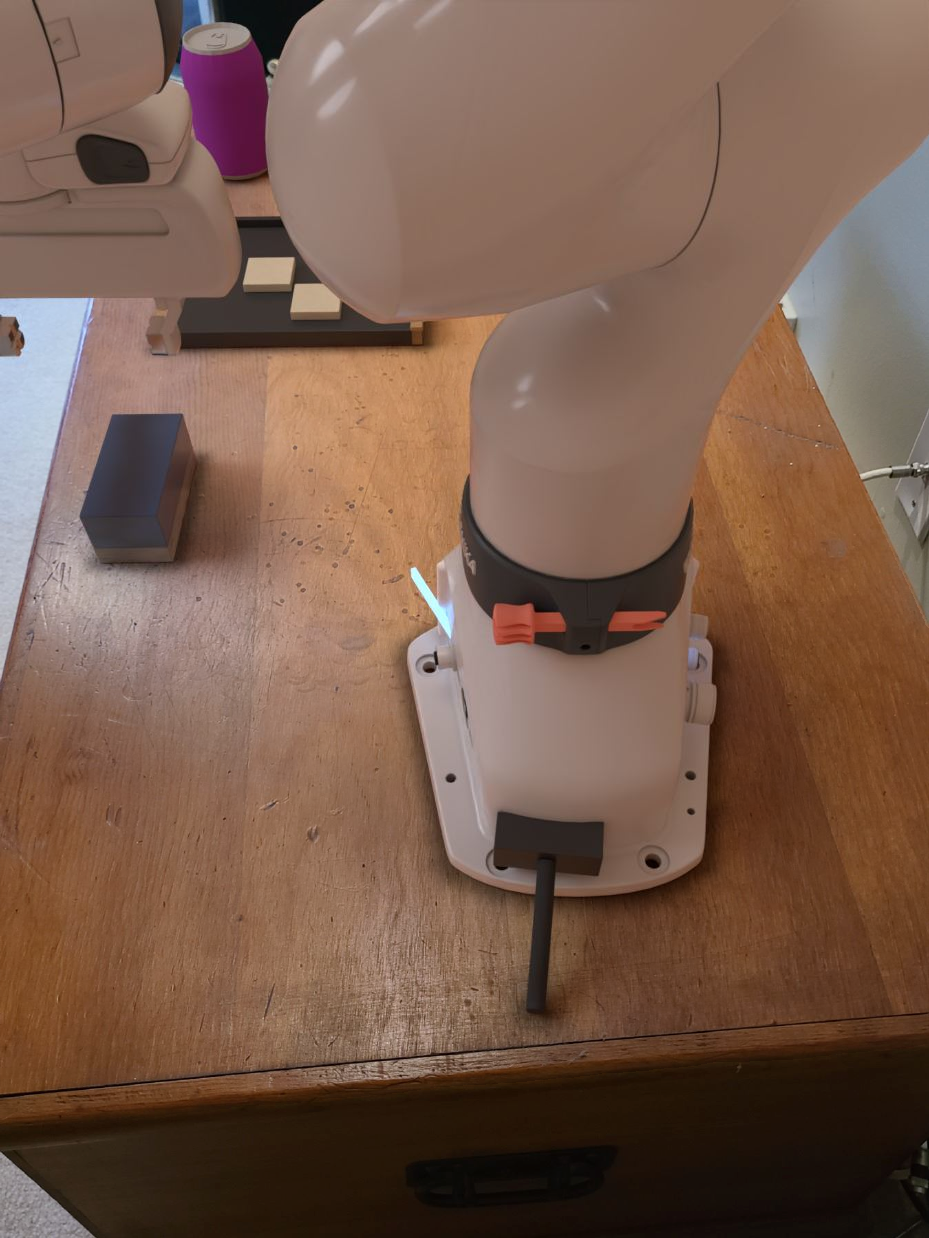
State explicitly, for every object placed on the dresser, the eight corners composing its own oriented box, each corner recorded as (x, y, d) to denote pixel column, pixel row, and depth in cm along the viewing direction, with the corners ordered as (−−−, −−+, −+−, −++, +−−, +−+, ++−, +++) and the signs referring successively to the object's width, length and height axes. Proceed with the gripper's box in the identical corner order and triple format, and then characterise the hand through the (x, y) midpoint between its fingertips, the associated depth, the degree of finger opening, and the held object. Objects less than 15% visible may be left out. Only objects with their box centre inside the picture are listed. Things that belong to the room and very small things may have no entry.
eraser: (197, 460, 73) (182, 413, 69) (173, 562, 67) (156, 515, 63) (129, 461, 73) (111, 413, 69) (99, 563, 67) (78, 516, 63)
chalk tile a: (340, 319, 81) (339, 311, 80) (291, 320, 81) (290, 312, 80) (343, 291, 83) (342, 283, 83) (296, 292, 83) (294, 283, 83)
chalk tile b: (291, 292, 83) (290, 283, 83) (244, 292, 83) (242, 284, 83) (296, 265, 86) (294, 257, 85) (250, 265, 86) (248, 257, 85)
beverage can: (209, 146, 102) (182, 19, 93) (283, 145, 102) (263, 18, 92) (196, 184, 97) (166, 54, 88) (273, 184, 97) (252, 54, 88)
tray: (409, 269, 88) (409, 258, 87) (195, 271, 88) (192, 260, 87) (412, 225, 92) (411, 214, 92) (207, 227, 92) (204, 216, 92)
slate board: (423, 345, 81) (422, 326, 80) (156, 348, 81) (150, 330, 80) (425, 269, 88) (424, 251, 86) (179, 272, 88) (174, 254, 86)
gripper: (-237, 152, 46) (-102, 385, 57) (200, 151, 46) (250, 383, 58) (-185, 89, 50) (-68, 319, 61) (218, 87, 50) (262, 317, 61)
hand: (89, 350), depth 59 cm, fingers open, 8 cm apart
